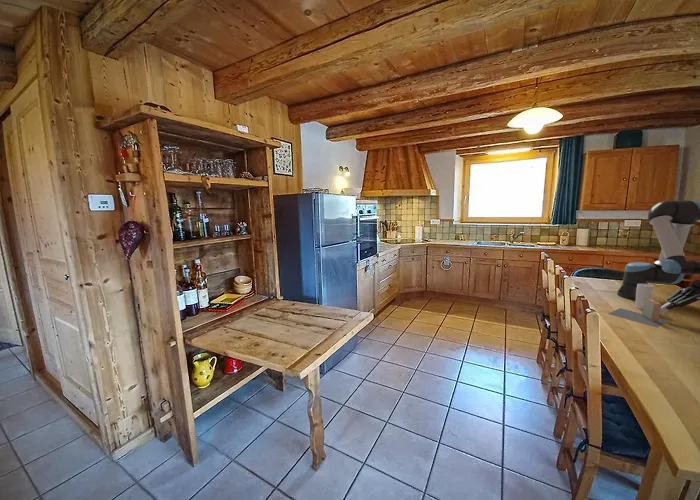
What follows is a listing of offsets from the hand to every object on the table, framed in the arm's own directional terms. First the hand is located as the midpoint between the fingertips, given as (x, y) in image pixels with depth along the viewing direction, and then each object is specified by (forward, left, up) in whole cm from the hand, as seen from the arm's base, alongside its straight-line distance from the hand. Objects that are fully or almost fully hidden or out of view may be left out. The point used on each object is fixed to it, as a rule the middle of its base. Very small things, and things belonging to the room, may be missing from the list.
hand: (659, 311), depth 151 cm
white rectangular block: (-14, -11, -5) cm, 18 cm away
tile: (+2, -3, -5) cm, 6 cm away
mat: (+6, -7, -5) cm, 10 cm away
